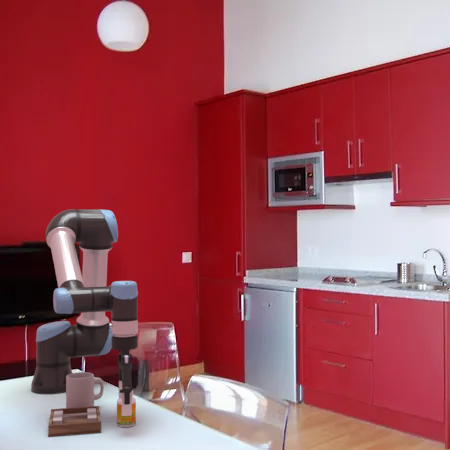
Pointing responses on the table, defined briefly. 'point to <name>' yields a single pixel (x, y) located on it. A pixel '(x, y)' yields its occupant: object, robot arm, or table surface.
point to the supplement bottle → (126, 420)
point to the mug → (82, 389)
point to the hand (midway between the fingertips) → (125, 409)
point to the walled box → (74, 421)
